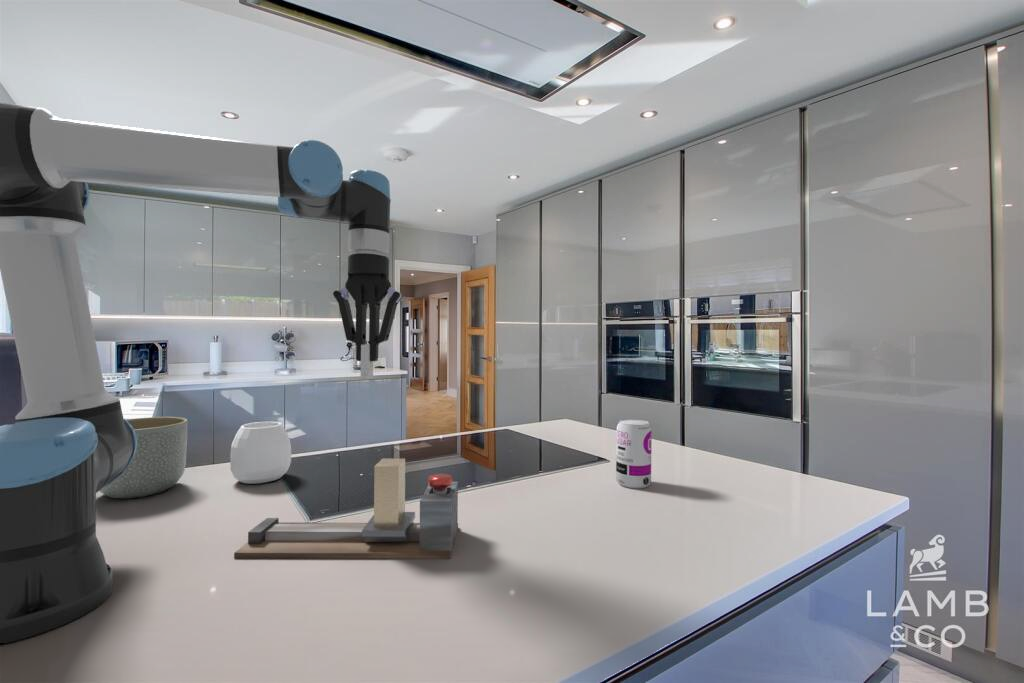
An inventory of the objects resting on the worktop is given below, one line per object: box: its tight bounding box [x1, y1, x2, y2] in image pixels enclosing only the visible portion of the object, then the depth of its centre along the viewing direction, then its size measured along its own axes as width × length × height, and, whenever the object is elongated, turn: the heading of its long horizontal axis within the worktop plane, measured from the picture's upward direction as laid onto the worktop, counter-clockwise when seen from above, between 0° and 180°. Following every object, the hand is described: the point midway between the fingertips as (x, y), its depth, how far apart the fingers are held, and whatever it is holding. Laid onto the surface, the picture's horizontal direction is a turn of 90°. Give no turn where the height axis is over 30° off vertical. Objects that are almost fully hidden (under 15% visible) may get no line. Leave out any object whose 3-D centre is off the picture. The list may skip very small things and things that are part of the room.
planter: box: [98, 416, 189, 499], centre depth 103 cm, size 17×17×15 cm
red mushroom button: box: [427, 473, 453, 494], centre depth 79 cm, size 4×4×7 cm
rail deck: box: [233, 481, 459, 560], centre depth 79 cm, size 12×34×9 cm, turn 91°
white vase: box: [229, 420, 292, 485], centre depth 113 cm, size 13×13×14 cm
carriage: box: [362, 458, 416, 542], centre depth 79 cm, size 8×7×12 cm
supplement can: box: [615, 418, 653, 490], centre depth 111 cm, size 8×8×15 cm
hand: (366, 378), depth 89 cm, fingers closed
